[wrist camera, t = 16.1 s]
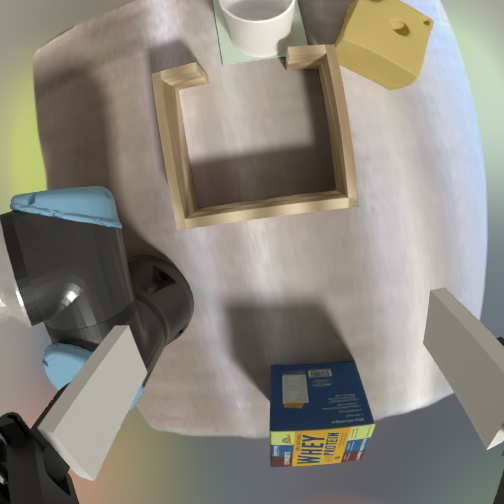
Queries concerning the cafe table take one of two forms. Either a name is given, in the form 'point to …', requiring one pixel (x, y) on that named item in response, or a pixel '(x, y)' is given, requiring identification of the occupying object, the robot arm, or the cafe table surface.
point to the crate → (192, 217)
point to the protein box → (318, 414)
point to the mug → (259, 25)
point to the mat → (235, 56)
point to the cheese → (384, 41)
